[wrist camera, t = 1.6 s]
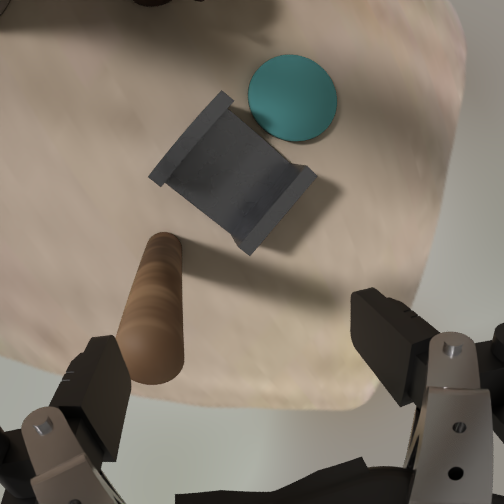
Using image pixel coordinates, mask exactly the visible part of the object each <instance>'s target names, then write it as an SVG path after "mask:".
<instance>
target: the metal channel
mask: <svg viewBox="0 0 504 504" xmlns="http://www.w3.org/2000/svg"><path fill="white" fill-rule="evenodd" d="M233 102H234V100H233V99H232V98H230V97H229V96H228V95H227V94H226V93H224V92H223V91H222V90H221V91H220V93H219V94H218V95H217V96H216V97H215V98H214V99H213V100H212V101H211V102H210V103H209V104H208V106H207V107H206V108H205V109H204V110H203V111H202V112H201V113H200V114H199V116H198V117H197V118H196V119H195V120H194V121H193V122H192V124H191V125H190V126H189V127H188V128H187V129H186V131H185V132H184V133H183V134H182V135H181V136H180V138H179V139H178V140H177V141H176V142H175V144H174V145H173V146H172V147H171V148H170V150H169V151H168V152H167V153H166V155H165V156H164V157H163V158H162V160H161V161H160V162H159V163H158V165H157V166H156V167H155V168H154V170H153V171H152V172H151V174H150V175H149V176H148V177H149V178H150V179H151V180H152V181H154V182H155V183H156V184H158V185H159V186H160V187H161V186H162V185H163V184H164V183H166V184H167V185H169V186H170V187H171V188H172V189H174V190H175V191H176V192H178V193H179V194H180V195H181V196H183V197H184V198H185V199H187V200H188V201H189V202H190V203H192V204H193V205H194V206H195V207H197V208H198V209H199V210H201V211H202V212H203V213H204V214H206V215H207V216H208V217H210V218H211V219H212V220H213V221H215V222H216V223H217V224H218V225H220V226H221V227H222V228H224V229H225V230H226V231H227V232H229V233H230V234H231V236H232V237H233V239H234V241H235V243H236V244H237V246H238V247H239V248H240V249H241V250H243V251H244V252H245V253H246V254H248V255H249V256H251V254H252V253H253V252H254V251H255V250H256V248H257V247H258V246H259V245H260V244H261V243H262V241H263V240H264V239H265V238H266V237H267V235H268V234H269V233H270V232H271V231H272V229H273V228H274V227H275V226H276V225H277V224H278V222H279V221H280V220H281V219H282V218H283V216H284V215H285V214H286V213H287V212H288V211H289V209H290V208H291V207H292V206H293V205H294V203H295V202H296V201H297V200H298V199H299V198H300V196H301V195H302V194H303V193H304V192H305V190H306V189H307V188H308V187H309V186H310V184H311V183H312V182H313V181H314V180H315V179H316V177H317V175H316V174H315V173H314V172H313V171H312V170H311V169H310V168H309V167H308V166H306V165H298V164H291V163H289V162H288V161H287V160H286V159H285V158H284V157H283V156H281V155H280V154H279V153H278V152H277V151H276V150H275V149H274V148H273V147H271V146H270V145H269V144H268V143H267V142H266V141H265V140H264V139H262V138H261V137H260V136H259V135H258V134H257V133H256V132H254V131H253V130H252V129H251V128H250V127H249V126H248V125H246V124H245V123H244V122H243V121H242V120H241V119H239V118H238V117H237V116H236V115H235V114H233V113H232V112H231V111H230V110H229V109H227V108H228V107H229V106H230V105H231V104H232V103H233Z"/></svg>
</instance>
